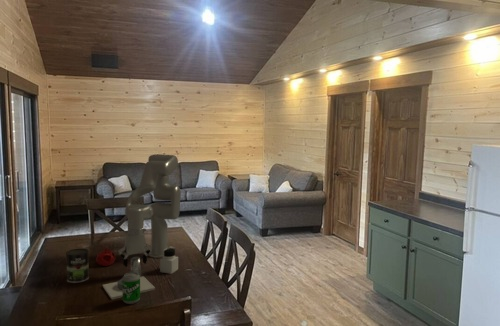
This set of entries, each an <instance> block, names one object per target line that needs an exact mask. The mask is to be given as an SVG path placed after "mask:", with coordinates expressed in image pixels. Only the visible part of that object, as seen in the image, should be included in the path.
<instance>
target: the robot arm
mask: <svg viewBox="0 0 500 326" xmlns="http://www.w3.org/2000/svg"><path fill="white" fill-rule="evenodd" d="M178 165H179V159H178V157H177V156H176V155H174V154H160V153H158V154H156V153H155V154H151V155H149V156H148V160H147V162H146V163H145V165H144V168H143V172H142V175H141V180H140V183H139V186H138V187H136V188H135V189H134V190H133V191H132V192H131V194H129V196H128V198H127V201H126V205H125V210H124V214H125V217H126V218H127V234H125V239H124V246H123V247H122V248H120V249H118V251H117V253H118V254H119V256H120V257H121V258H122V260H123V262H122V263H123V266H124V267H125V268H127V267H128V257H129V256H133V255H139V254H142V263H143V264H144V265H146V264H147V262H148V256H149V257H151V258H154V259H161V258H163V250H164V249H166V248H173V249H175V250H176V246H171V245H170V246H169V245H168V237H169V236H168V235H169V234H168V232H169V231H168V228H169V227H168V226H169V225H168V222H167V221H166V220H177V219H178V218H179V216H180V209H181V198H182V197H181V195H182V194H181V192H182V191H181V188H180V187H179V185H177V184H170V183H169V182H170V175H171V174H172V173H174V171H175V170H176V169H177V167H178ZM149 193H153V197H154V199H155V200H156V201H157V202H154V203H151V205H149V204H148V205H147V204H140V203H139V204H138V203H137V204H136V202H137V200H138V199H139V198H141V197H142V196H144V195H147V194H149ZM158 201H159V202H158ZM161 201H169V202H161ZM149 219H150V226H151V227H150V228H151V229H150V230H151V232H150V235H151V238H150V240H151V242H150V245H149V244H147V243H146V237H145V233H144V232H146V231H147V230H146V228H144V221H146V220H149ZM146 249H147V250H146ZM123 252H124V254H123Z"/></svg>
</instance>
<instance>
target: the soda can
mask: <svg viewBox="0 0 500 326" xmlns="http://www.w3.org/2000/svg"><path fill="white" fill-rule="evenodd" d="M140 277H141V276H140V275H138V273H135V272H131V271H130V272H126V273H125V274H124V275H123V276H122V278H121V279H122V294H123V297H122V301H123V303H124V304H126V305H133V304H137V303H138V302H139V301H140V299H141V293H140Z"/></svg>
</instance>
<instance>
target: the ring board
mask: <svg viewBox="0 0 500 326" xmlns="http://www.w3.org/2000/svg"><path fill="white" fill-rule="evenodd" d="M102 287H103V289H104V291H105V292H106V294H107V295H108V297H109V298H110V299H111V300H116V299H120V298H123V294H122V278H120V279H118V281H115V282H109V283H106V284H105V283H103V284H102ZM155 290H156V287H155V286H154V285H153V284H152V283H151V282H150V281H149V280H148V279H147V278H146V277H145V276H143V275H142V276H140V294H143V293H146V292H150V291H155Z"/></svg>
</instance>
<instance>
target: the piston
mask: <svg viewBox="0 0 500 326" xmlns="http://www.w3.org/2000/svg"><path fill="white" fill-rule="evenodd" d="M141 262H142V258H141V256H133V257H131V258H130V273H131V272H135V273H138V275H140V277H142V263H141Z"/></svg>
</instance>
